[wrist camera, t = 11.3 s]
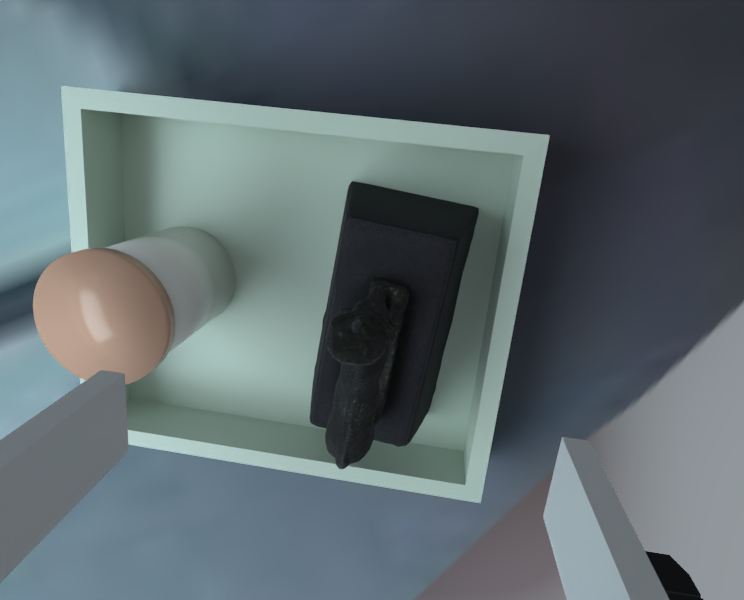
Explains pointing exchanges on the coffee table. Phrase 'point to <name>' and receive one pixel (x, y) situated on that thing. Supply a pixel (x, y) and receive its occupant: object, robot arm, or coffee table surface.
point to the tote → (300, 269)
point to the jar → (131, 300)
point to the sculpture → (387, 316)
